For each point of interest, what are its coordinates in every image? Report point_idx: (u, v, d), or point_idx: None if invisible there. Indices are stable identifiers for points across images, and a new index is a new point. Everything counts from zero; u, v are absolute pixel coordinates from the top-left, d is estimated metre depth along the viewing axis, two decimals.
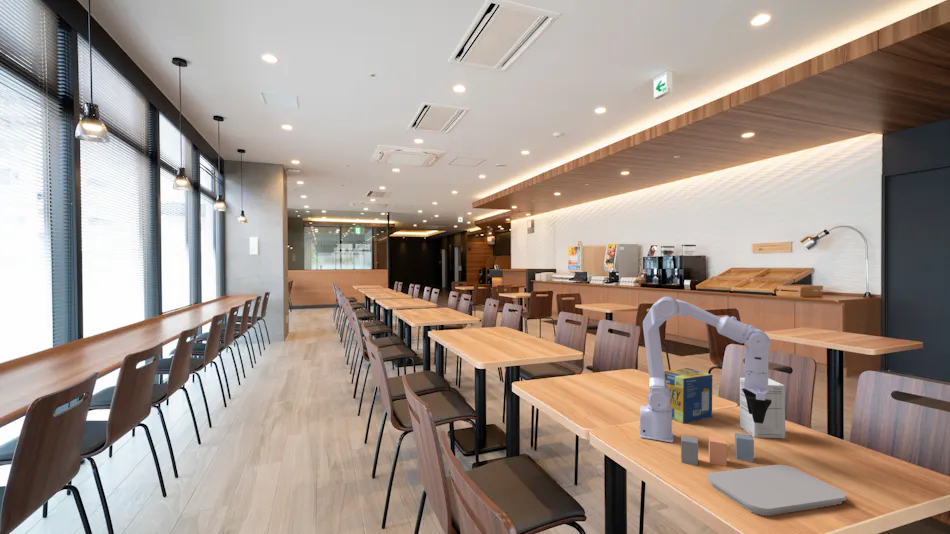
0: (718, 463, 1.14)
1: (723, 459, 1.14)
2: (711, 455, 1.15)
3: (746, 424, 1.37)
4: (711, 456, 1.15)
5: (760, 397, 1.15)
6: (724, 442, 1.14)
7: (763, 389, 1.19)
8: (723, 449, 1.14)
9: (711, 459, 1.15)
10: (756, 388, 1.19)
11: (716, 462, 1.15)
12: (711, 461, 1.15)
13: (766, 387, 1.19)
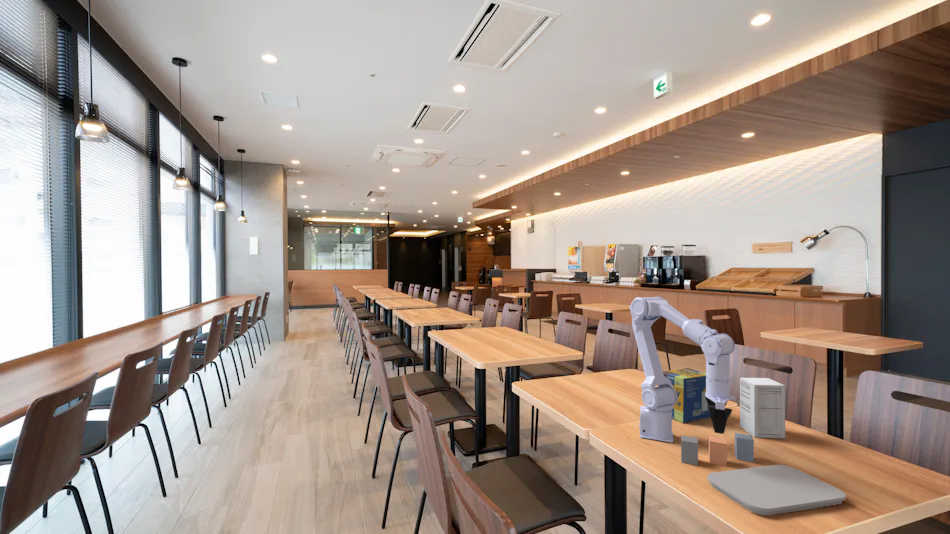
0: (718, 463, 1.14)
1: (723, 459, 1.14)
2: (711, 455, 1.15)
3: (746, 424, 1.37)
4: (711, 456, 1.15)
5: (720, 406, 1.10)
6: (724, 442, 1.14)
7: (724, 397, 1.13)
8: (723, 449, 1.14)
9: (711, 459, 1.15)
10: (717, 396, 1.14)
11: (716, 462, 1.15)
12: (711, 461, 1.15)
13: (727, 395, 1.14)
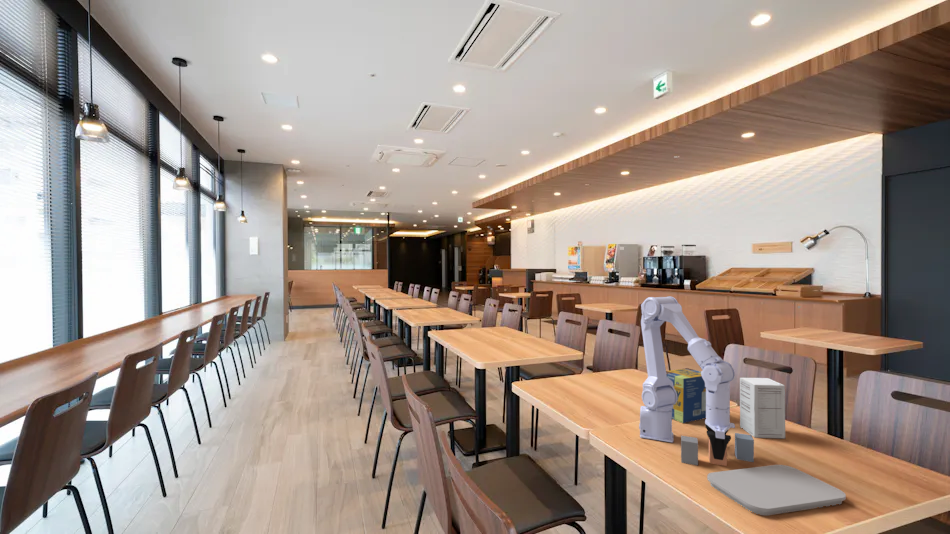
0: (718, 463, 1.14)
1: (723, 459, 1.14)
2: (711, 455, 1.15)
3: (746, 424, 1.37)
4: (711, 456, 1.15)
5: (719, 435, 1.10)
6: None
7: (724, 426, 1.13)
8: None
9: (711, 459, 1.15)
10: (717, 425, 1.14)
11: (716, 462, 1.15)
12: (711, 461, 1.15)
13: (727, 423, 1.14)
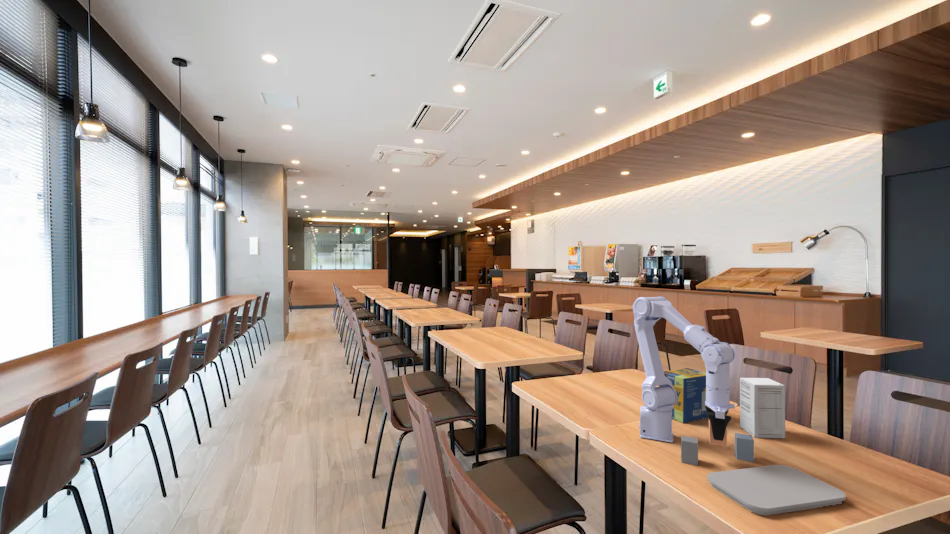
0: (718, 444, 1.14)
1: (723, 440, 1.14)
2: (711, 436, 1.15)
3: (746, 424, 1.37)
4: (711, 437, 1.15)
5: (719, 415, 1.10)
6: None
7: (724, 406, 1.13)
8: None
9: (711, 440, 1.15)
10: (717, 405, 1.14)
11: (716, 443, 1.15)
12: (711, 442, 1.15)
13: (727, 404, 1.14)
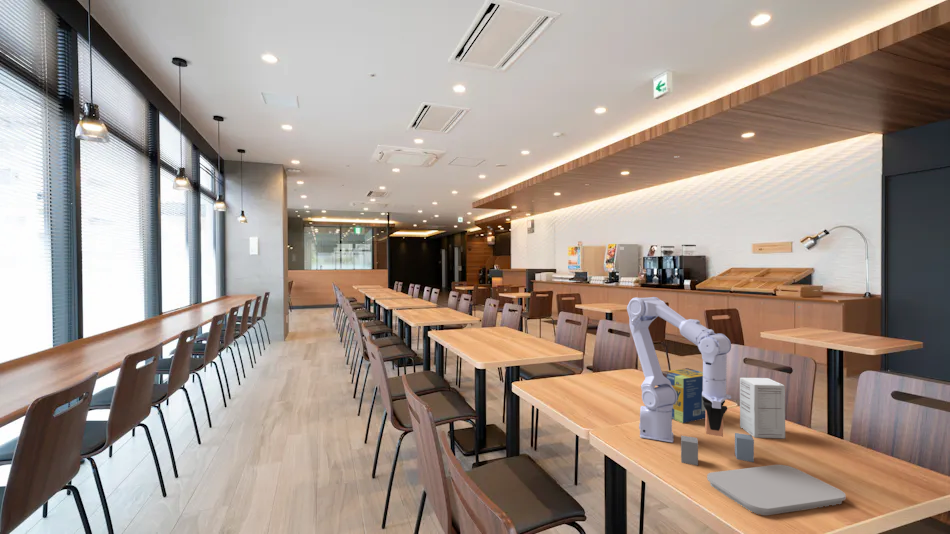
0: (714, 434, 1.16)
1: (719, 430, 1.15)
2: (708, 426, 1.16)
3: (746, 424, 1.37)
4: (708, 427, 1.16)
5: (716, 405, 1.11)
6: None
7: (720, 397, 1.15)
8: None
9: (708, 430, 1.16)
10: (713, 396, 1.15)
11: (713, 433, 1.16)
12: (708, 432, 1.16)
13: (724, 395, 1.15)
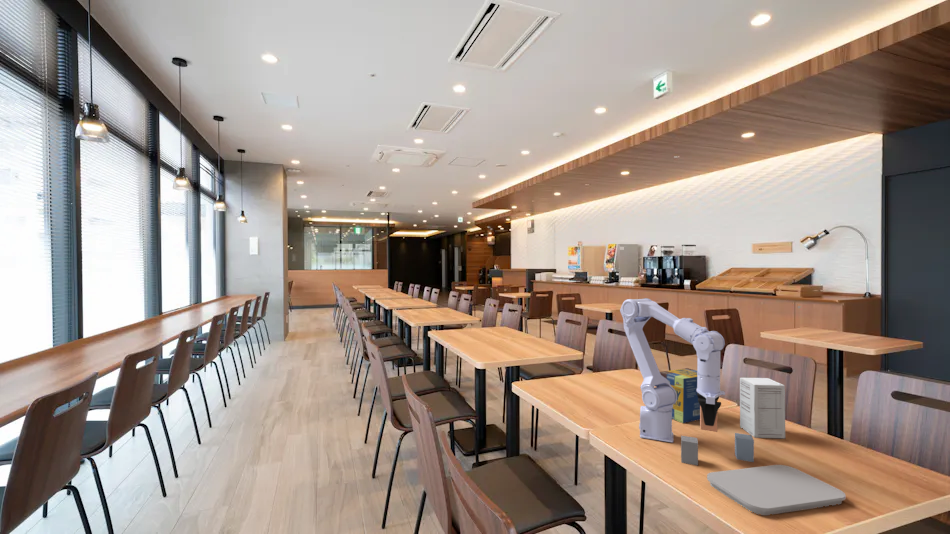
0: (709, 429, 1.18)
1: None
2: (702, 421, 1.19)
3: (746, 424, 1.37)
4: (702, 422, 1.19)
5: (710, 401, 1.13)
6: None
7: (714, 393, 1.17)
8: None
9: (702, 425, 1.19)
10: (707, 392, 1.17)
11: (707, 428, 1.18)
12: (702, 427, 1.19)
13: (718, 391, 1.17)
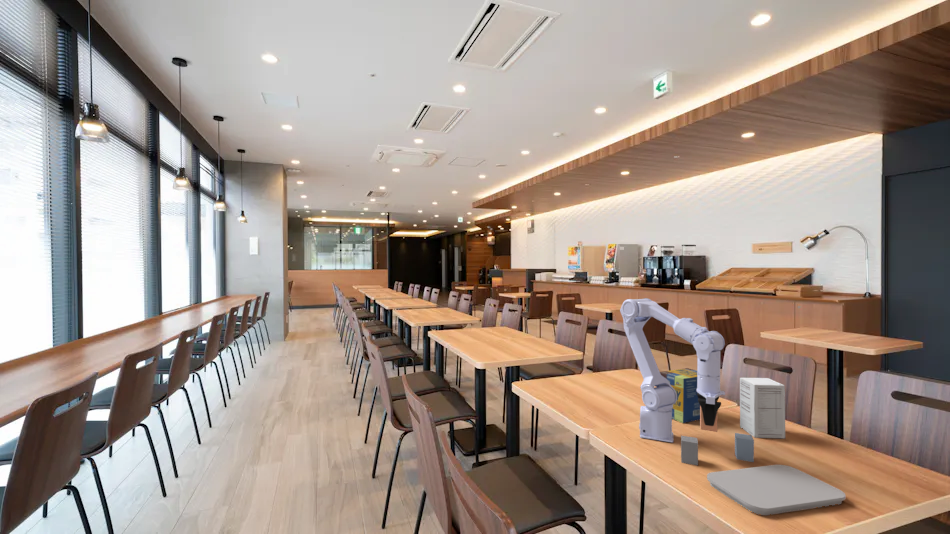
0: (709, 429, 1.18)
1: None
2: (702, 421, 1.19)
3: (746, 424, 1.37)
4: (702, 422, 1.19)
5: (710, 401, 1.13)
6: None
7: (714, 393, 1.17)
8: None
9: (702, 425, 1.19)
10: (707, 392, 1.17)
11: (707, 428, 1.18)
12: (702, 427, 1.19)
13: (718, 391, 1.17)
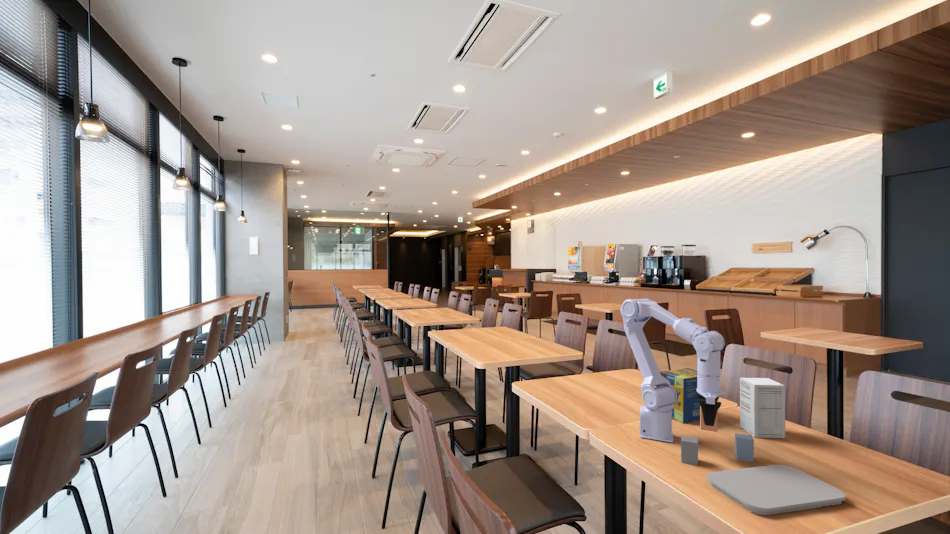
0: (709, 429, 1.18)
1: None
2: (702, 421, 1.19)
3: (746, 424, 1.37)
4: (702, 422, 1.19)
5: (710, 401, 1.13)
6: None
7: (714, 393, 1.17)
8: None
9: (702, 425, 1.19)
10: (707, 392, 1.17)
11: (707, 428, 1.18)
12: (702, 427, 1.19)
13: (718, 391, 1.17)
